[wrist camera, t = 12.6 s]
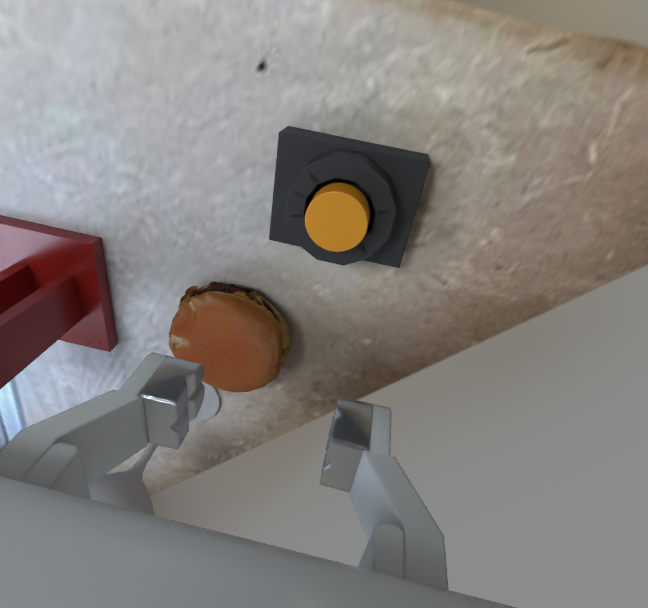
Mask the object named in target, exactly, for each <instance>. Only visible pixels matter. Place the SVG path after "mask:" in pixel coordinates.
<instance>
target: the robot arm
mask: <svg viewBox="0 0 648 608" xmlns="http://www.w3.org/2000/svg"><path fill="white" fill-rule="evenodd" d="M204 375H205V373H204V366H203V365H201V364H197V363H193V362H190V361H186V360H182V359H178V358H174V357H170V356H165V355H161V354H158V353H154V352H153V353H151V354H149V355H147V357H146V358H145V359H144V360H143V361H142V363H141V364H140V365H139V366H138V367H137V369H136V370H135V371H134V372H133V374H132V375H131V376H130V377H129V378H128V380H127V381H126V382H125V383H124V384H123V386H122V387H121V388H120V389H119V390H118V391H116V390H112V391H109V392H107V393H105V394H102V395H100V396H98V397H96V398H93V399H91V400H89V401H86V402H84V403H82V404H80V405H77V406H75V407H73V408H71V409H68V410H66V411H64V412H61V413H59V414H57V415H55V416H52V417H50V418H48V419H46V420H43V421H41V422H39V423H36V424H34V425H32V426H30V427H27V428H25V429H23V430H21V431H20V432H19V433H18V434H17V435H16V436H15V437H14V438H13V439H12V440H11V441H10V442H9V443H8V444H7V445H6V446H5V447H4V448H3V449H2V450H1V451H0V608H516V607H512V606H508V605H504V604H500V603H496V602H492V601H489V600H484V599H481V598H476V597H473V596H469V595H465V594H461V593H457V592H453V591H449V590H448V579H447V567H446V554H445V542H444V535H443V533H442V532H441V530H440V529H439V527H438V525H437V524H436V522H435V521H434V519H433V518H432V516H431V514H430V512H429V511H428V509H427V508H426V506H425V505H424V503H423V501H422V500H421V498H420V496H419V495H418V493H417V492H416V490H415V488H414V487H413V485H412V484H411V482H410V480H409V479H408V477H407V475H406V474H405V472H404V471H403V469H402V468H401V466H400V464H399V463H398V461H397V459H396V458H395V457H391V456H390V445H391V409H390V408H388V407H384V406H379V405H375V404H373V405H372V404H370V403H366V402H361V401H357V400H353V399H348V398H344V397H339V396H338V399H337V403H336V407H335V412H334V416H333V419H332V424H331V428H330V432H329V437H328V442H327V447H326V454H325V459H324V462H323V468H322V474H321V479H320V484H321V485H324V486H328V487H331V488H335V489H339V490H342V491H346V492H350V497H351V500H352V502H353V505H354V507H355V510H356V512H357V515H358V517H359V520H360V522H361V525H362V527H363V530H364V532H365V535H366V537H367V540H368V544H367V547H366V549H365V552H364V554H363V556H362V559H361V561H360V563H359V566H358V567H355V566H351V565H347V564H343V563H339V562H335V561H332V560H327V559H324V558H320V557H316V556H312V555H308V554H304V553H300V552H296V551H292V550H288V549H284V548H280V547H276V546H272V545H268V544H265V543H261V542H256V541H253V540H249V539H245V538H241V537H237V536H233V535H229V534H225V533H222V532H218V531H213V530H210V529H206V528H202V527H198V526H194V525H190V524H186V523H182V522H178V521H174V520H170V519H166V518H163V517H159V516H155V515H151V514H147V513H143V512H139V511H135V510H131V509H127V508H123V507H119V506H115V505H112V504H108V503H104V502H100V501H96V500H92V499H91V495H90V491H89V488H88V486H89V485H90V484H92V483H93V482H94V481H96V480H97V479H99V478H100V477H102V476H103V475H105V474H106V473H108V472H109V471H111V470H112V469H114V468H115V467H116V466H118V465H119V464H121V463H122V462H124V461H125V460H127V459H128V458H130V457H131V456H133V455H134V454H135V453H137V452H138V451H140V450H141V449H143V448H144V447H146V446H147V445H148V443H150V444H155V445H160V446H164V447H169V448H174V449H179V447H180V445H181V443H182V442H183V440H184V438H185V436H186V434H187V433H188V431H189V422H190V421H191V420H193V419H195V418H196V416H197V415H198V413H199V411H200V408H201V405H202V403H203V399H204V393H205V386H204V385H203V383H202V382H201V380H202V379H203V377H204Z"/></svg>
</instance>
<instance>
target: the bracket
mask: <svg viewBox="0 0 648 608" xmlns="http://www.w3.org/2000/svg"><path fill="white" fill-rule="evenodd" d="M57 340H62V341H66V342H71V343H75V344H79V345H83V346H87V347H92V348H96V349H100V350H104V351H108V352H110V351H111V350H112V349H113V348H114V347H115V346H116V345H117V339H116V332H115V326H114V319H113V312H112V306H111V299H110V293H109V286H108V279H107V273H106V266H105V260H104V253H103V246H102V240H101V238H100V237H95V236H91V235H86V234H82V233H77V232H73V231H68V230H64V229H59V228H55V227H50V226H46V225H41V224H37V223H32V222H28V221H23V220H19V219H14V218H10V217H5V216H1V215H0V389H1V388H2V387H3V386H5V385H6V384H7V383H8V382H9V381H10V380H12V379H13V378H14V377H15V376H16V375H17V374H19V373H20V372H21V371H22V370H23V369H24V368H26V367H27V366H28V365H29V364H30V363H31V362H33V361H34V360H35V359H36V358H37V357H39V356H40V355H41V354H42V353H43V352H44V351H46V350H47V349H48V348H49V347H50V346H51V345H53V344H54V343H55V342H56V341H57Z"/></svg>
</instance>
